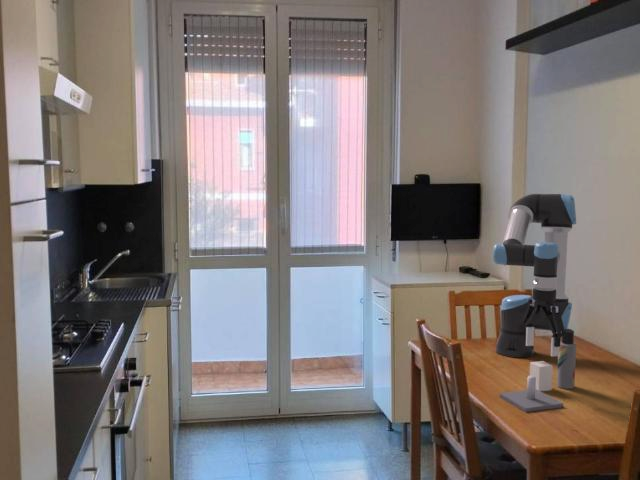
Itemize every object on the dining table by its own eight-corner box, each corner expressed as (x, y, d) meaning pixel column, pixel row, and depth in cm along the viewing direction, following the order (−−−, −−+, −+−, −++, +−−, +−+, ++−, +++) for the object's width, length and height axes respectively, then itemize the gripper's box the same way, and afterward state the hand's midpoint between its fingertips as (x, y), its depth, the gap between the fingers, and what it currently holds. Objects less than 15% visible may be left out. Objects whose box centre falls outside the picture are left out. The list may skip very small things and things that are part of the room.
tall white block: (529, 386, 224) (530, 362, 223) (542, 385, 226) (543, 361, 225) (538, 391, 219) (539, 366, 218) (551, 390, 221) (552, 365, 220)
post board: (499, 396, 214) (500, 372, 213) (535, 392, 219) (536, 368, 218) (525, 412, 201) (526, 386, 200) (563, 407, 205) (564, 381, 204)
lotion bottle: (574, 384, 226) (576, 328, 224) (574, 390, 221) (577, 332, 219) (556, 383, 228) (559, 327, 226) (556, 388, 223) (559, 331, 221)
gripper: (513, 283, 229) (510, 342, 232) (559, 295, 206) (556, 361, 208) (531, 282, 232) (528, 340, 234) (579, 294, 208) (576, 359, 210)
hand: (541, 350), depth 221 cm, fingers open, 13 cm apart
